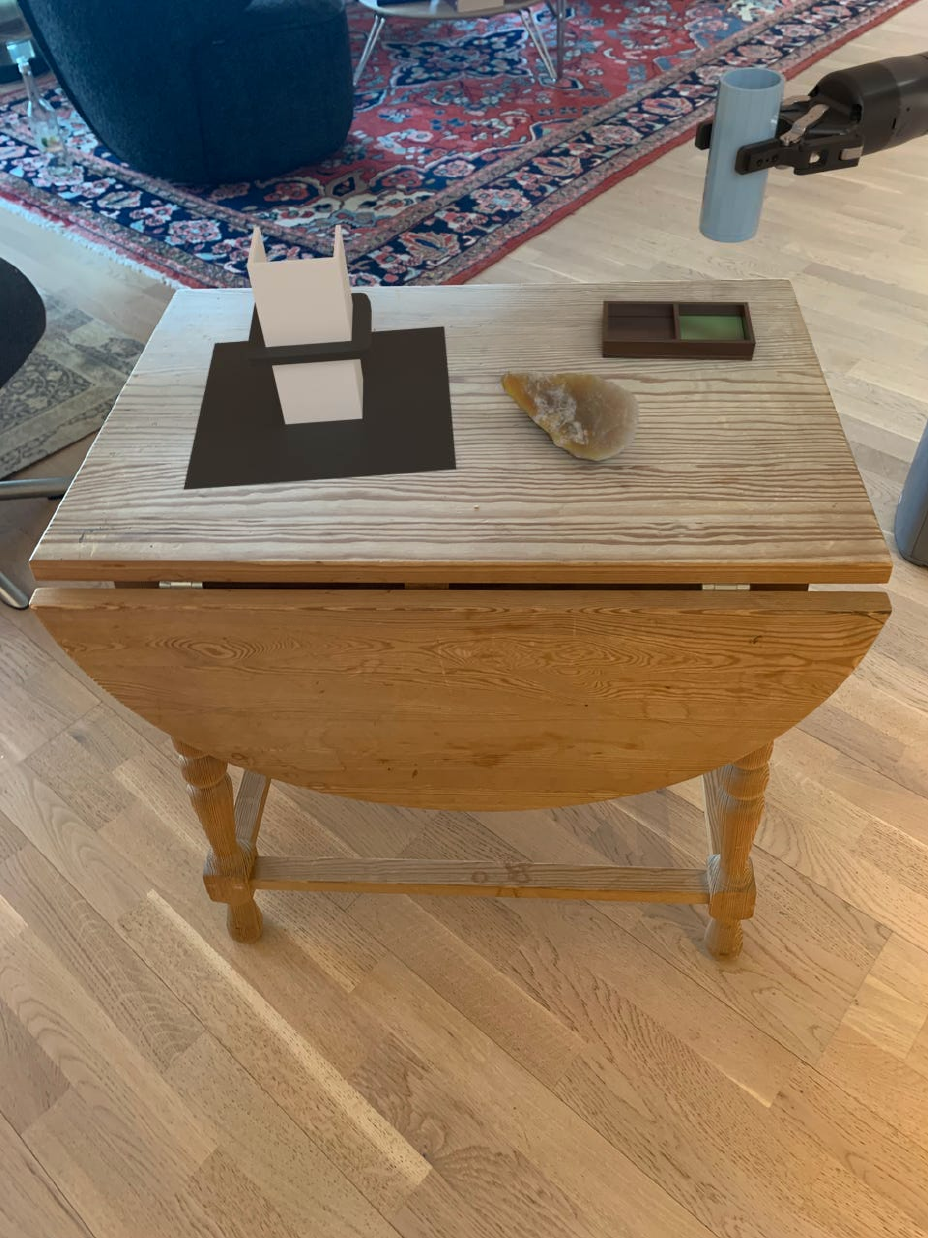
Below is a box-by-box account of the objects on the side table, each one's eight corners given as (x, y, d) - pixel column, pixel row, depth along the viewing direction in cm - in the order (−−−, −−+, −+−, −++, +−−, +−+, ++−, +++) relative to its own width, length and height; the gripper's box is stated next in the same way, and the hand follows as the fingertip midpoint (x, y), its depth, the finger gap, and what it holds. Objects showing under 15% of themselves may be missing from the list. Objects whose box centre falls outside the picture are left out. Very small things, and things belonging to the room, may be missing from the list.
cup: (751, 214, 89) (778, 64, 79) (762, 241, 86) (792, 88, 76) (694, 217, 89) (714, 68, 80) (703, 244, 86) (725, 92, 76)
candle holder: (444, 326, 101) (433, 172, 88) (456, 469, 85) (445, 305, 72) (214, 343, 101) (172, 191, 88) (183, 489, 84) (126, 328, 72)
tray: (602, 317, 100) (603, 300, 99) (744, 318, 99) (748, 301, 97) (602, 357, 95) (603, 340, 94) (752, 360, 94) (756, 342, 92)
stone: (634, 411, 78) (487, 352, 84) (615, 478, 82) (475, 417, 87) (667, 390, 83) (526, 335, 89) (647, 453, 87) (513, 397, 93)
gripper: (830, 40, 87) (676, 77, 83) (943, 88, 78) (777, 132, 74) (812, 124, 92) (667, 163, 88) (915, 178, 83) (759, 224, 79)
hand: (718, 149), depth 81 cm, fingers closed on cup, 5 cm apart
